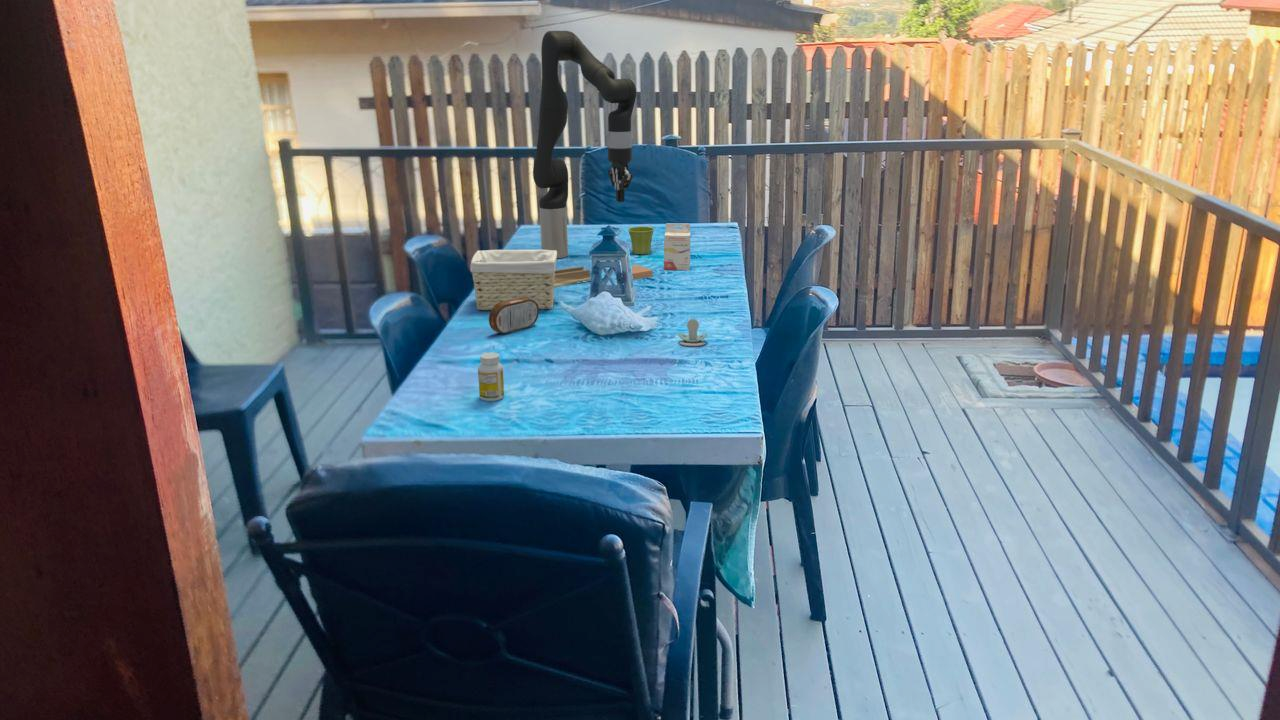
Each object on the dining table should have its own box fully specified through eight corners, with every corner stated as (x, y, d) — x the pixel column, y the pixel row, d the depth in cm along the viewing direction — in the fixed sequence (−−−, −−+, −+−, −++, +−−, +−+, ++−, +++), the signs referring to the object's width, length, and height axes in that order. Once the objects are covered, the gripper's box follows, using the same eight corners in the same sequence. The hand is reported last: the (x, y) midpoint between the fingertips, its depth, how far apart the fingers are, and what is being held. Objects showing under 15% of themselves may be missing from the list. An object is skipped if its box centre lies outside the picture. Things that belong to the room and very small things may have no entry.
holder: (527, 280, 304) (526, 271, 303) (578, 273, 313) (578, 264, 312) (541, 288, 295) (541, 279, 294) (594, 281, 303) (593, 271, 302)
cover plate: (600, 271, 308) (615, 276, 300) (637, 264, 315) (652, 270, 308) (600, 278, 308) (615, 284, 301) (637, 272, 315) (652, 277, 308)
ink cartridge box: (663, 270, 316) (663, 225, 311) (664, 266, 321) (664, 222, 316) (689, 270, 315) (689, 226, 310) (690, 266, 320) (690, 223, 315)
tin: (534, 323, 261) (532, 293, 258) (541, 325, 259) (540, 295, 256) (488, 335, 251) (486, 304, 249) (496, 337, 249) (494, 306, 246)
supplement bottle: (491, 403, 206) (488, 361, 202) (474, 398, 209) (471, 356, 206) (509, 396, 209) (507, 354, 206) (493, 391, 213) (490, 349, 210)
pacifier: (706, 348, 240) (707, 340, 246) (706, 324, 238) (707, 317, 243) (677, 347, 241) (678, 339, 246) (677, 324, 239) (678, 316, 244)
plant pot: (623, 255, 337) (623, 230, 335) (634, 249, 346) (633, 225, 343) (648, 257, 334) (648, 232, 331) (658, 251, 342) (658, 227, 339)
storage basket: (559, 296, 287) (557, 247, 282) (557, 311, 272) (555, 260, 267) (478, 298, 286) (475, 249, 281) (472, 313, 271) (468, 262, 266)
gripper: (640, 147, 294) (640, 203, 300) (620, 142, 305) (621, 197, 311) (618, 149, 291) (619, 206, 297) (599, 144, 302) (600, 199, 308)
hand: (620, 201), depth 304 cm, fingers closed
